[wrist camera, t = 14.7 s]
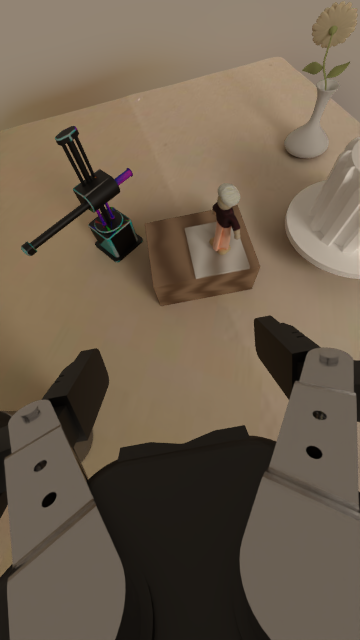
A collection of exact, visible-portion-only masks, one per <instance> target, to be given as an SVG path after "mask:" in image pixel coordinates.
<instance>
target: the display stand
mask: <svg viewBox="0 0 360 640" xmlns="http://www.w3.org/2000/svg"><path fill="white" fill-rule="evenodd" d="M232 208H233V210H234V215H235V216H236V218H237V220H238V222H239V225H240V227H241V228H240V236H241V237H240V239H238V240H236V239H235V238H234V232H233V229H232V227H231V237H230V243H229V245H230V247H231V249H230V250H229V251H228V252H227V253H226V254H225V255H220V254H218V253H217V251H215V250H214V249H213V246H211V245H210V243H209V241H210V239H211V238H213V237H215V232H216V224H217V219H216V215H213V214H212V213H211V212H212V210H210V211H205V212H200V213H195V214H190V215H185V216H180V217H175V218H170V219H165V220H160V221H155V222H150V223H145V229H146V236H147V244H148V251H149V258H150V266H151V273H152V280H153V287H154V290H155V292H156V295H157V298H158V300H159V303H160V305H161V306H164V305H169V304H175V303H180V302H185V301H190V300H196V299H201V298H206V297H212V296H217V295H222V294H227V293H233V292H238V291H243V290H248V289H252V287H253V284H254V282H255V279H256V276H257V274H258V271H259V269H260V265H259V262H258V259H257V257H256V254H255V251H254V248H253V246H252V243H251V240H250V238H249V235H248V232H247V229H246V227H245V224H244V221H243V219H242V216H241V213H240V211H239V208H238V205H235V206H232Z"/></svg>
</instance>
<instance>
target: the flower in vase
mask: <svg viewBox="0 0 360 640" xmlns="http://www.w3.org/2000/svg"><path fill="white" fill-rule="evenodd" d="M351 6H352V3H351V2H349V3H347V4H346V5H345V2H344V1H343V2H341V3H340V4H339V5H338V3H336V2H335V3H334V4H333V5H332V7H331V8H326V9H325V11H324V12H322V13H321V15H320V16H319V17H318V19H317V21H316V22H317V23H315V24H314V25H313V27H312V30H313V33H312V36H314V38H313V41H314V43H316V45H320V44H321V47H322V48H324V47H325V48H327V51H326V54H325V57H324V61H323V66H321V65H320V64H319V63H317V62H312V63H310V64H309V65H307V66H306V67H305V68H304V69H303V70H302V71H305V72H308V73H310V74H317V73H318V72H320V71H321V70H322V68H323V73H324V79H325V80H321V81H319V82H318V83H317V85H316V87H317V100H316V105H315V108H314V111H313V114H312V116H311V118H310V120H309V121H308V123H306V124H305V125H303V126H301V127H299V128H297V129H295V130H294V131H293V132H291V133H290V134H289V135H288V136H287V138H286V139H285V142H284V144H285V148H286V150H287V151H288V152H289V153H290V154H291V155H293V156H296V157H299V158H313V157H317V156H319V155H321V154H322V153H323V152H325V151H326V149H327V148H328V143H329V140H328V137H327V135H326V133H325V132H324V130H323V129H322V128H321V126H320V119H321V116H322V113H323V111H324V109H325V107H326V105H327V103H328V101H329V99H330V98H331V96H332V95H333V93H334V92H335V91H337V89H339V87H340V83H339V82H338V81H335V80H331V79H326V73H325V59H326V56H327V53H328V49H329V48H330V47H331V46H336V45H337V44H338V43H344V42H345V40H346V38H348V37H349V36H350V35H351V34H350V33H352V32H353V31H354V30H355V26H356V24H357V23H356V22H357V20H356V18H357V16H358V14H357V13H356V12H357V8H355V9H354V8H351ZM350 8H351V9H350ZM349 63H350V62H348V63H346V64H343V65H340V66H336V67H334V68H333V69H332V70H331V71H330V73H329V74H328V75H327V78H332V77H336V76H338V75H339V74H341V73H342V72H343V71H344V70H345V69H346V68H347V66H348V65H349Z"/></svg>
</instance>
